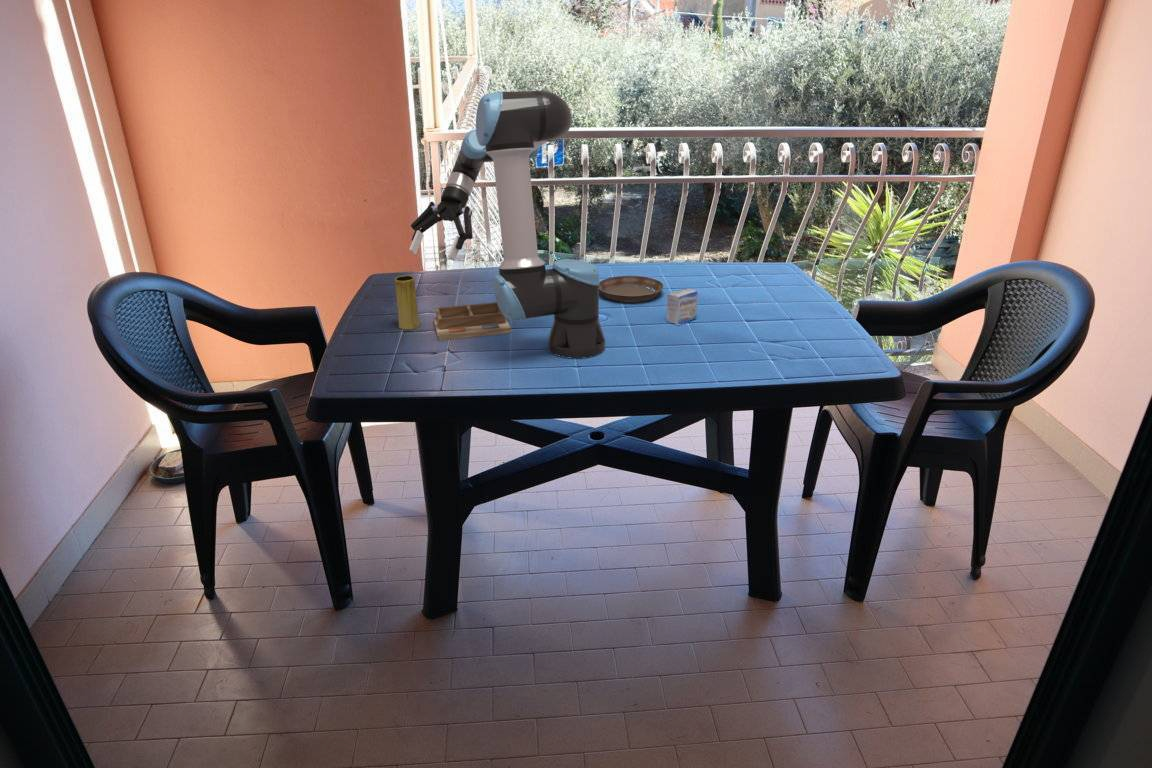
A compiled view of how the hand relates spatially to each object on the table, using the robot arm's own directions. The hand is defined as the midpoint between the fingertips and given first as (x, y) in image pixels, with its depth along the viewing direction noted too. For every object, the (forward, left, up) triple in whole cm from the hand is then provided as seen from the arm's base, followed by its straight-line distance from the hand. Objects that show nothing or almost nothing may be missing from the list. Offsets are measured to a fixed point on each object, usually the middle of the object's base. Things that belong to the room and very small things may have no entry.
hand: (431, 255), depth 225 cm
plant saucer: (0, -60, -18) cm, 63 cm away
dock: (-15, -8, -18) cm, 24 cm away
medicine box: (-26, -67, -18) cm, 74 cm away
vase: (-9, +9, -18) cm, 22 cm away
